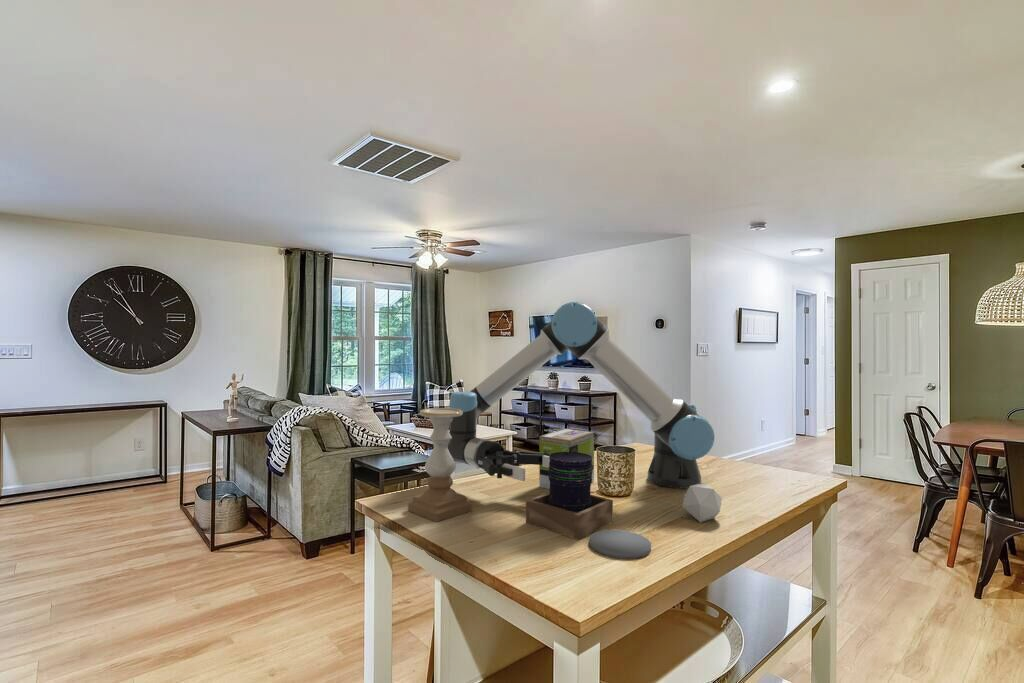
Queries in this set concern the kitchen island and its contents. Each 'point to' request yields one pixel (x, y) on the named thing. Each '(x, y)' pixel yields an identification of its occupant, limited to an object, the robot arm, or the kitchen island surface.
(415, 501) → the candle holder
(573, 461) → the dark blue cylinder
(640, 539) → the rubber pad
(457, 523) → the kitchen island surface
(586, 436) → the tea box
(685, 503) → the die
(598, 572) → the kitchen island surface
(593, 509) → the walnut open box
